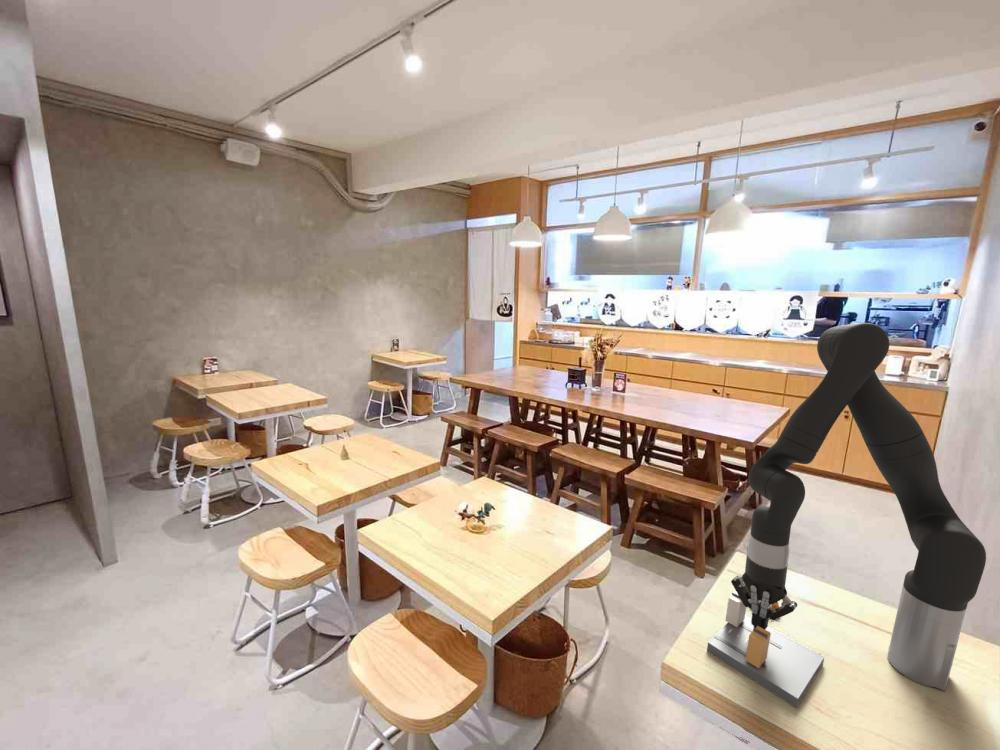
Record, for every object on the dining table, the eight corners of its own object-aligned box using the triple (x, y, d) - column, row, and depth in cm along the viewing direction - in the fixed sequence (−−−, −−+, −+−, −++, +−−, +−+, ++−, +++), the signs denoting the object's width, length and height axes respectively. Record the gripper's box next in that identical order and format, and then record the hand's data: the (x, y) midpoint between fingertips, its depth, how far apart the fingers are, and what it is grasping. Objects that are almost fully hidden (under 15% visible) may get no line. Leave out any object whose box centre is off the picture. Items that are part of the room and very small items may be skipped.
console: (822, 665, 93) (824, 656, 93) (796, 707, 83) (798, 698, 83) (738, 618, 106) (739, 610, 106) (706, 650, 96) (708, 641, 96)
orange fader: (767, 658, 92) (771, 631, 90) (759, 668, 89) (763, 640, 88) (753, 650, 94) (757, 623, 92) (745, 660, 91) (749, 632, 90)
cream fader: (744, 619, 102) (748, 594, 101) (737, 627, 100) (740, 602, 99) (733, 612, 104) (736, 588, 103) (725, 620, 102) (728, 595, 101)
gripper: (809, 564, 92) (799, 638, 95) (742, 537, 102) (735, 605, 105) (796, 579, 87) (786, 655, 91) (727, 549, 98) (720, 619, 101)
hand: (758, 628), depth 98 cm, fingers closed
